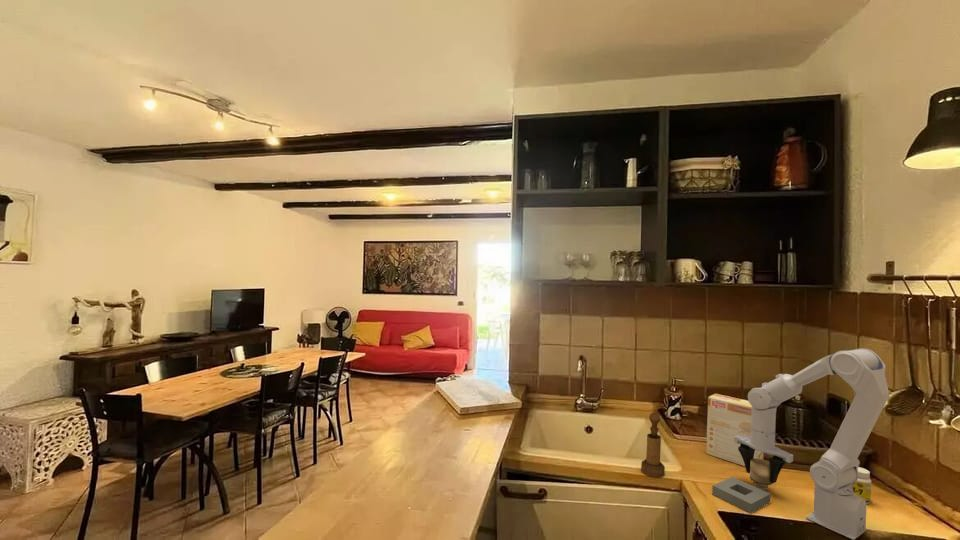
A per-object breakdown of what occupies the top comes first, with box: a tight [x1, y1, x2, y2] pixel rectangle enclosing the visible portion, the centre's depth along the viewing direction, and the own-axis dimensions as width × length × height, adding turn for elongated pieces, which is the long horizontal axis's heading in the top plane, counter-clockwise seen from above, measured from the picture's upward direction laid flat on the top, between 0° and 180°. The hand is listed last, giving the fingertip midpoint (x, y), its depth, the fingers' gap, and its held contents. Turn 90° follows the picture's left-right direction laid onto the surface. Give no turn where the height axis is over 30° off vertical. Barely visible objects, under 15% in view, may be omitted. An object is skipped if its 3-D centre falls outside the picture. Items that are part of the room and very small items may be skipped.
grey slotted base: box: [711, 476, 772, 514], centre depth 114 cm, size 10×10×2 cm
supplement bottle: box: [852, 466, 872, 505], centre depth 115 cm, size 5×5×8 cm
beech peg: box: [749, 458, 773, 492], centre depth 119 cm, size 5×5×8 cm
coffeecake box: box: [705, 393, 764, 467], centre depth 137 cm, size 15×7×20 cm, turn 42°
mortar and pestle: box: [640, 412, 666, 478], centre depth 127 cm, size 7×6×18 cm
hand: (761, 477), depth 119 cm, fingers open, 6 cm apart
